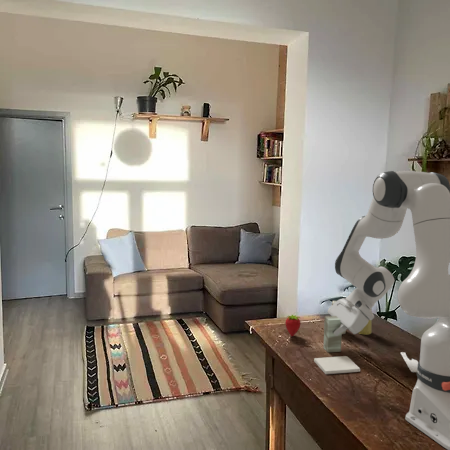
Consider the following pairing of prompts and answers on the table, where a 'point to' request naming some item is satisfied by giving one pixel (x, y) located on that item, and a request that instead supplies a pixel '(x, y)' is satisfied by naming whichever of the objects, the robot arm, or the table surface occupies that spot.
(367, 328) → the vase
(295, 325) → the strawberry
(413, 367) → the butcher knife
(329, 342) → the handle block
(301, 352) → the table surface
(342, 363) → the ceramic tile
